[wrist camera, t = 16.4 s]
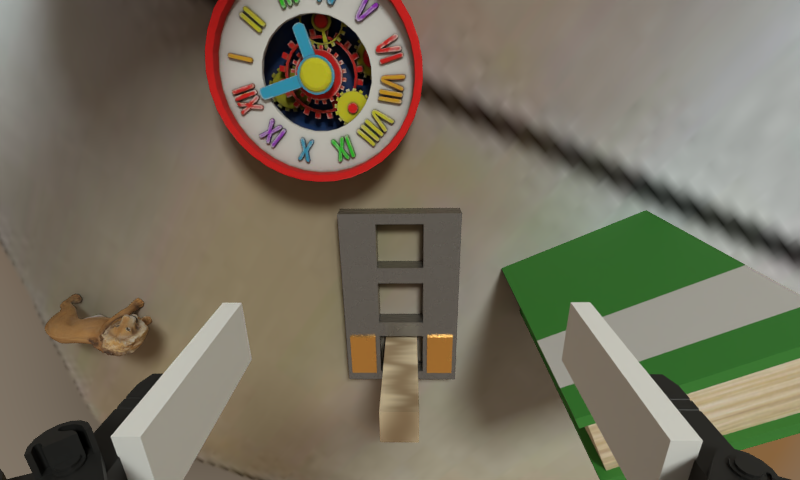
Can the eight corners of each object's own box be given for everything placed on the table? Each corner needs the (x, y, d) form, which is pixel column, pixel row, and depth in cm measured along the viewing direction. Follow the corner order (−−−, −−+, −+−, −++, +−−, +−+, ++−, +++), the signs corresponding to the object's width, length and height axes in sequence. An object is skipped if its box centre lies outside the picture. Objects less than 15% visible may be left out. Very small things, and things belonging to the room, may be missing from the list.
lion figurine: (167, 287, 52) (121, 327, 44) (178, 323, 54) (136, 367, 46) (57, 293, 53) (-9, 333, 45) (72, 328, 55) (12, 373, 47)
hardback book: (521, 315, 53) (604, 489, 30) (501, 268, 50) (575, 419, 28) (660, 263, 49) (866, 413, 27) (646, 210, 47) (859, 327, 25)
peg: (387, 356, 55) (380, 442, 42) (386, 331, 54) (379, 412, 41) (416, 357, 55) (418, 442, 42) (416, 331, 54) (418, 412, 41)
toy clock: (448, 146, 39) (261, 206, 42) (443, 138, 45) (278, 192, 48) (382, -95, 33) (163, -6, 35) (386, -70, 38) (196, 6, 41)
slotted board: (351, 368, 56) (349, 380, 54) (340, 208, 48) (336, 215, 46) (453, 369, 56) (455, 380, 54) (459, 208, 47) (462, 214, 45)
